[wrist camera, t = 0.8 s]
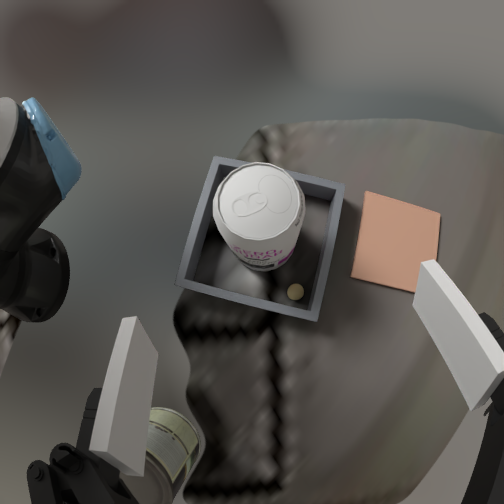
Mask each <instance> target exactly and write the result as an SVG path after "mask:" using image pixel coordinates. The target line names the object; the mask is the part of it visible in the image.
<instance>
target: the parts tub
mask: <svg viewBox="0 0 504 504" xmlns="http://www.w3.org/2000/svg"><path fill="white" fill-rule="evenodd" d="M246 164H250V162H245V161H240V160H234V159H229V158H223V157H218V156H214V158H213V161H212V164H211V166H210V169H209V172H208V175H207V178H206V181H205V184H204V188H203V190H202V194H201V197H200V200H199V203H198V206H197V209H196V212H195V216H194V219H193V223H192V225H191V229H190V232H189V235H188V239H187V242H186V245H185V249H184V252H183V255H182V259H181V263H180V266H179V269H178V273H177V277H176V280H175V284H174V285H177V286H180V287H183V288H186V289H190V290H193V291H197V292H201V293H204V294H208V295H211V296H215V297H219V298H223V299H226V300H230V301H234V302H238V303H241V304H245V305H249V306H253V307H257V308H261V309H265V310H269V311H273V312H277V313H281V314H285V315H289V316H293V317H298V318H302V319H306V320H310V321H315V322H317V320H318V316H319V312H320V308H321V304H322V299H323V295H324V291H325V286H326V282H327V277H328V273H329V268H330V264H331V259H332V254H333V249H334V244H335V239H336V234H337V229H338V224H339V218H340V213H341V207H342V202H343V196H344V190H345V184H342V183H338V182H334V181H330V180H327V179H322V178H318V177H314V176H310V175H306V174H302V173H297V172H293V171H288V170H284V169H283V170H284V171H286V172H287V173H289V174H290V175H291V176H292V177H293V178H294V179H295V180H296V181H297V182H298V184H299V186H300V188H301V190H302V192H303V194H306V195H310V196H314V197H318V198H322V199H326V200H330V201H331V203H330V209H329V214H328V219H327V224H326V229H325V234H324V239H323V243H322V248H321V253H320V257H319V262H318V266H317V271H316V275H315V280H314V284H313V288H312V292H311V297H310V301H309V305H308V309H307V310H303V309H299V308H295V307H290V306H286V305H282V304H278V303H274V302H270V301H266V300H262V299H258V298H254V297H250V296H246V295H242V294H239V293H235V292H231V291H227V290H223V289H220V288H216V287H212V286H208V285H205V284H201V283H197V282H194V281H193V279H194V275H195V272H196V268H197V265H198V261H199V258H200V254H201V251H202V247H203V244H204V240H205V237H206V233H207V230H208V227H209V223H210V220H211V217H212V213H213V199H214V197H215V194H216V191H217V189H218V186H219V185H220V184H221V183H222V181H223V178H224V177H227V176H228V175H229V173H230V172H232V171H233V170H235V169H237V168H239V167H240V166H242V165H246ZM287 294H288V297H289V298H290V299H292V300H299V299H300V298H302V296H303V294H304V289H303V287H302V286H301V285H299V284H292V285H291V286H290V287H289V288H288V291H287Z"/></svg>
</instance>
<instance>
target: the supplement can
mask: <svg viewBox="0 0 504 504" xmlns="http://www.w3.org/2000/svg"><path fill="white" fill-rule="evenodd" d="M305 212H306V208H305V197H304V194H303V192H302V190H301V188H300V186H299V184H298V182H297V181H296V180H295V179H294V178H293V177H292V176H291V175H290V174H289V173H287V172H286V171H284V170H283V169H281V168H279V167H277V166H275V165H272V164H270V163H260V162H255V163H250V164H246V165H242V166H240V167H239V168H237V169H235V170H233V171H232V172H230V173H229V175H228V176H227V177H226V178H225V179H224V180H223V182H222V183H221V184H220V185H219V186H218V189H217V191H216V194H215V197H214V199H213V217H214V220H215V222H216V225H217V228H218V230H219V232H220V233H221V235H222V236H223V238H224V240H225V241H226V243H227V244H228V246H229V247H230V249H231V250H232V252H233V253H234V255H235V256H236V258H237V259H238V260H239V261H240V262H241V263H242V264H243V265H244V266H246V267H248V268H250V269H252V270H257V271H264V272H265V271H269V270H274V269H277V268H278V267H280V266H282V265H283V264H285V263H286V262H287V260H288V259H289V258H290V257H291V255H292V254H293V251H294V248H295V245H296V242H297V238H298V235H299V232H300V229H301V226H302V222H303V219H304V215H305Z"/></svg>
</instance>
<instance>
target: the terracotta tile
mask: <svg viewBox="0 0 504 504" xmlns="http://www.w3.org/2000/svg"><path fill="white" fill-rule="evenodd" d="M439 226H440V213H437V212H434V211H431V210H428V209H424V208H421V207H418V206H415V205H412V204H409V203H406V202H402V201H399V200H396V199H392V198H389V197H386V196H382V195H379V194H375V193H372V192H368V191H366V192H365V195H364V202H363V209H362V215H361V222H360V228H359V233H358V239H357V245H356V250H355V256H354V261H353V266H352V271H351V276H350V277H351V278H355V279H360V280H364V281H368V282H372V283H376V284H380V285H384V286H388V287H393V288H397V289H401V290H405V291H409V292H413V293H415V292H416V287H417V281H418V276H419V271H420V265H421V262H424V261H428V260H432V259H434V260H435V261H436V257H437V248H438V238H439Z"/></svg>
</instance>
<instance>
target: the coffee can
mask: <svg viewBox="0 0 504 504" xmlns="http://www.w3.org/2000/svg"><path fill="white" fill-rule="evenodd" d="M200 450H201V441H200V437H199V434H198V432H197V430H196V429H195V427H194V425H193V424H192V423H191V422H190V421H189V420H188V419H187V418H186V417H185V416H183V415H182V414H180V413H178V412H176V411H174V410H172V409H168V408H162V407H154V408H151V411H150V419H149V427H148V436H147V445H146V455H145V466H144V476H131V475H126V474H124V473H123V472H121V471H120V475H119V477H120V478H121V479H122V480H123V482H124V483H125V484H126V486H127V487H128V489H129V490H130V492H131V493H132V494H133V496H134V497H135V498H136V500H137V501H138V502H139V504H172V502H173V499H174V498H175V496H176V494H177V492H178V490H179V489H180V487H181V485H182V483H183V482H184V480H185V478H186V477H187V475H188V473H189V471H190V469H191V468H192V466H193V464H194V462H195V461H196V459H197V458H198V456H199V454H200Z"/></svg>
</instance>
